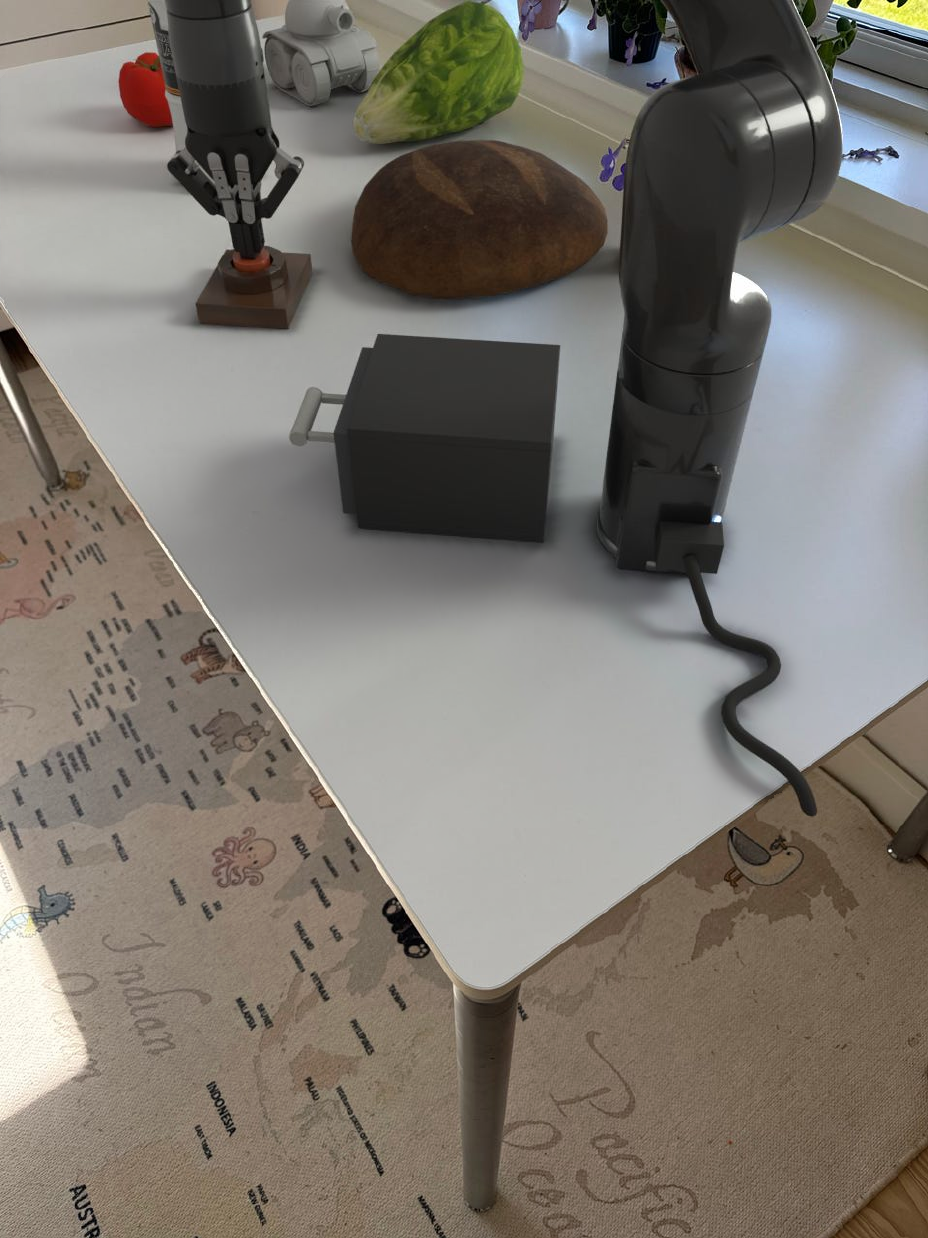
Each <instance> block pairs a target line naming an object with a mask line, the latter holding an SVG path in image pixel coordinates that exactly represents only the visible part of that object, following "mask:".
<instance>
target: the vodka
mask: <svg viewBox="0 0 928 1238" xmlns="http://www.w3.org/2000/svg"><path fill="white" fill-rule="evenodd" d="M146 1H147V5H148V9H149V15H150V19H151V23H152V24H151V25H152V30H153V33H154V38H155V44H156V49H157V55H158V56H159V58H160V63H161V68H162V73H163V78H164V83H165V87H166V91H165V96H166V98H167V100H168V104H169V108H170V112H171V116H172V122H173V126H172V127H173V133H174V135H173V136H174V145H175V153H176V152H177V151H179V150H181V151H182V150H183V149H184V148H185V147H186V146H185V138H186V135H187V125H186V122H185V118H184V113H183V108H182V103H181V98H180V93H179V88H178V82H177V77H176V72H175V67H174V62H173V57H172V52H171V47H170V41H169V33H168V19H167V11H166V5H165V0H146ZM199 168H200V169H201V170H202V172H203V173H204V174H205V175H206V176H207V177H208V178H209V179H210V180H211V181H212V182H213V184H214V185H215V182H214V180H213V179H211V177H210V176H209V175H208V174H207V173H206V172H205V171H204V169H203V168H202V167H201V166H200V165H199Z"/></svg>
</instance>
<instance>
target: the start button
mask: <svg viewBox="0 0 928 1238" xmlns="http://www.w3.org/2000/svg"><path fill="white" fill-rule="evenodd" d="M233 263H234V268H235V269H237V270H239V271H247V272H253V271H258V270H263V269H265V268H267V267H268V266H270V265H271V262H270V256H269V252H268V251H267V250H265V249H262V251H261V252H260V253H259V254H258V256H257V258H256V259H245V258H241V257H240V253H239V252H235V253H234V254H233Z"/></svg>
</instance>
